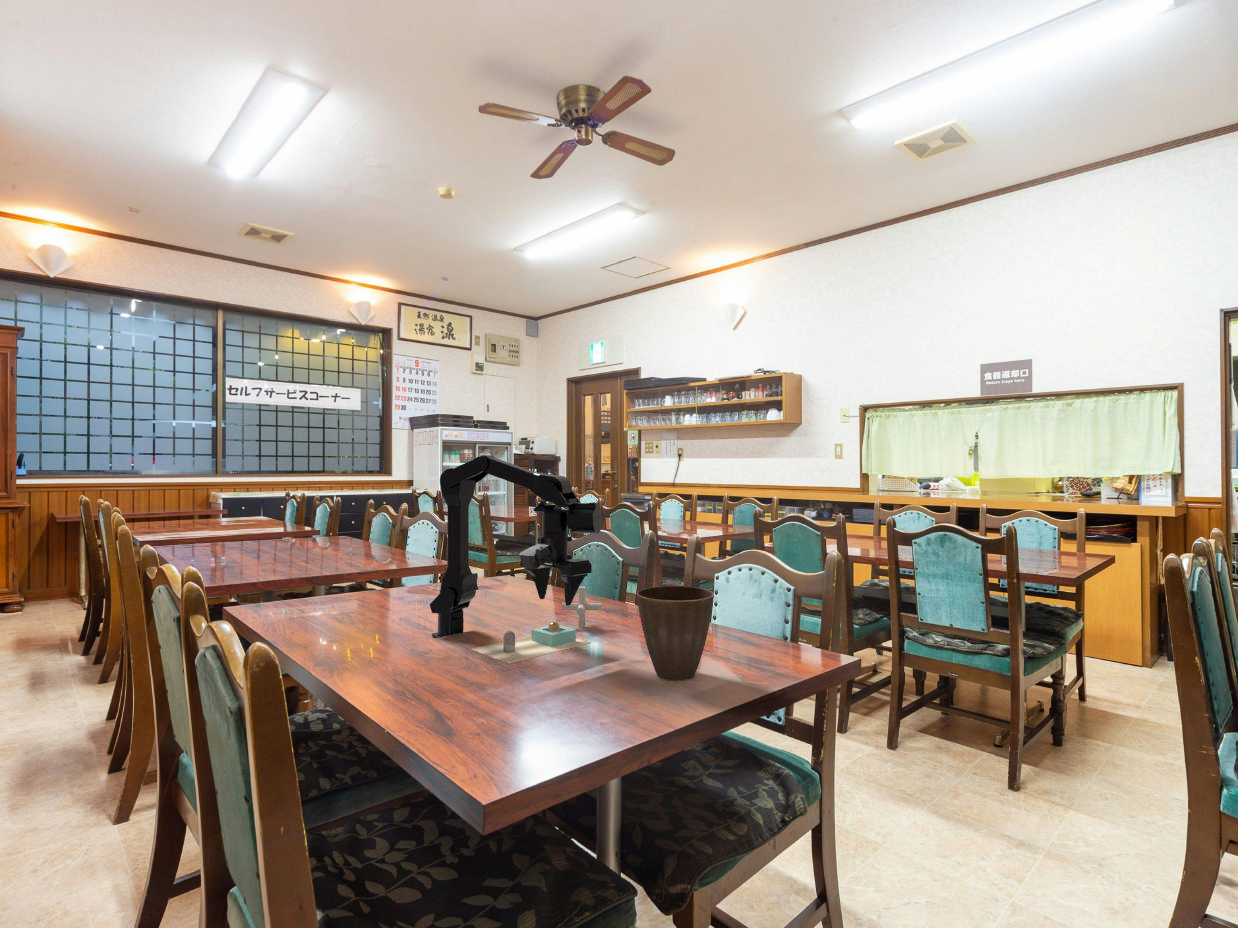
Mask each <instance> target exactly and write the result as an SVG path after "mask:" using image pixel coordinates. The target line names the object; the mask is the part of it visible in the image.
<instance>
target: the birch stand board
mask: <svg viewBox="0 0 1238 928" xmlns="http://www.w3.org/2000/svg"><path fill="white" fill-rule="evenodd" d="M589 644H592V642H590V641H588V640H587V641H586V640H583V639H580V638H577V637H576V641H574V642H570V643H565V644H561V645H557V646H553V647H550V646H547V645H544V644H541V643H538V642H535V641H532V635H528V636H523V637H519V638H516V634H515V632H513V631H512V630H508V631H506V632H504V634H503V641H500V642H495V643H491V644H486V645H482V646H477V647H473V648H471V650H472V651H475V652H478V653H480V654H482V655H485V656H488V657H490V658H493V659H495V660H498V661H501V662H503V663H506V664H512V663H517V662H521V661H524V660H529V659H533V658H536V657H537V658H538V657H540V656H541V657H542V656H545V655H550V654H553V653H557V652H561V651H567V650H569V649H574V648H578V647H581V646H586V645H589Z"/></svg>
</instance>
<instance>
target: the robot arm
mask: <svg viewBox="0 0 1238 928" xmlns="http://www.w3.org/2000/svg"><path fill="white" fill-rule="evenodd" d="M488 475H491V476H493V477H495V478H498V479H501V480H505V481H507V482H509V483H512V484H515V485H517V486H520V487H523V488H525V489H528V491H530V492H531V493H532V494H533V495H534V496H536V497H538V498H540V499H541V500H540V501H539V503H538V504H537V505H536V506H535V507H534V508H533V509H532V511H533V512H540V513H541V512H542V522H541V523H542V531H541V532H542V535H541V536H538V537H537V539H536V540H537V543H536V544H535V545H532V546H530V547H529V548H526V549H524V550H523V551H521V552H519V558H520V566H519V567H523V570H524V571H526V572H527V573H528V574H530V576H531V577H532V579H533V582H534V585H535V588H536V592H537V595H538V597H539V600H545V598H546V595H547V590H548V585H549V580H550V575H551V569H552V568H555V569H559V571H560V573H561V574H560V575H559V578H560V579H561V580H562V581H563V589H564V603H566V605H567V606H568V605H571V603H573V600H574V598H575V596H576V595H577V592H578V588H579V587H581V584H582V582H583V581H584V579H585V577H589V576H588V575H589V574H592V573H593V572H592V571H593V566H592V565H593V564H592V563H591V561H590V560H589V559H585V558H583V559H582V558H573V555H572V554H569V542H572V541H573V536H570V535H569V530H570V531H571V532H572V533H573V534H574V533H575V534H593V535H594V534H596V535H597V534H599V533H600V532H601V530H602V527H603V516H602V511H601V509H600V508H599V502H593V501H592V502H581V500H580V499H579V497H577V495H576V493H575V492H574V491H573V488H572V483H571V481H570V479H569V478H568V477H566V476H564V475H558V474H557V475H556V474H552V473H551V474H550V473H545V472H544V473H543V472H542V473H541V472H535V471H533V470H530V469H527V468H525V467H522V466H520V465H516V464H514V463H511V462H508V461H506V460H502V459H500V458H497V457H495V456H494V455H490V454H489V455H488V454H481V455H479V456H477V457H475V458H473V459H472V460H469V461H467V462H465V463H462V464H460V465H457V466H456V467H451V468H447V469H444V471H443V472H442V473H441V474H440V476H439V486H440V493H441V496H442V498H443V500H444V502H445V505H446V509H447V524H446V525H447V530H446V531H447V536H446V537H447V538H446V539H447V548H446V549H447V551H446V552H447V554H446V555H447V566H446V570H445V572H444V574H443V576H442V578H441V582H440V589H439V594H438V595H437V596H436V597H434V599H433V600H432V601H431V602H430V604H429V606H430V607H429V608H430V611H431V614H437V632H434V633H431V636H432V637H434V638H436V639H439V638H444V637H450V636H453V635H458V634H464V633H465V631H464V626H465V625H464V621H465V620H464V609H466V608H467V609H468V608H469V607H470V604H471V601H472V600H473V599H474V598H475V597H476V593H477V591H478V590H479V587H478V577H479V575H478V572H472V570H471V567H470V565H469V564H470V562H469V558H470V557H469V554H470V553H469V550H470V549H469V543H470V542H469V539H470V538H469V535H470V534H469V532H470V531H469V528H470V527H469V513H470V512H469V510H470V509H469V507H470V504H471V501H472V499H473V497H474V494H475V491H476V490H475V489H476V485H477V484H478V483H479V482H481V481H483V480H484V479H485V478H486V477H487V476H488ZM550 503H551V504H550ZM552 503H553V504H552Z"/></svg>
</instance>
